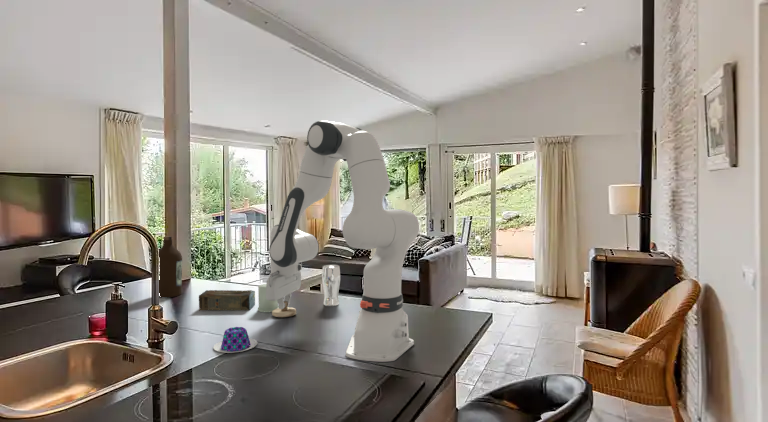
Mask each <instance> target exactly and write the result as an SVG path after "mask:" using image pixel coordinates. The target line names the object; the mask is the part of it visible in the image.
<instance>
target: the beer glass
mask: <svg viewBox="0 0 768 422" xmlns="http://www.w3.org/2000/svg"><path fill="white" fill-rule="evenodd" d="M321 276H322V277H321V279H322V280H321V281H322V286H323V287H322V288H323V292H324V299H323V306H325V307H336V306H339V305H340V300H339V290H340V284H341V269H340V265H338V264H325V265H322V271H321Z"/></svg>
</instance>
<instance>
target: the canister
mask: <svg viewBox="0 0 768 422" xmlns="http://www.w3.org/2000/svg"><path fill="white" fill-rule="evenodd" d="M266 284H267V283H262V284H259V285H258V287H257V288H258V291H257V292H258V293H257V294H258V295H257V296H258V307H257V311H258V312H260V313H272V311H273V310H274V309H277V308H279V304H278V302H277V300H276V301H269V300H267V299H266Z"/></svg>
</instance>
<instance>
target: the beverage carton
mask: <svg viewBox="0 0 768 422" xmlns="http://www.w3.org/2000/svg"><path fill="white" fill-rule="evenodd" d="M255 304H256V291H255V290H252V289H248V290H228V289H226V290H224V289H223V290H221V289H219V290H217V289H215V290H213V289H212V290H211V289H210V290H209V289H208V290H205V291H203V292H202V293H200V294H199V295H198V310H199V312H200V311H203V312H204V311H205V312H206V311H250V310H251V309H252V308H253V307H254V306H255Z"/></svg>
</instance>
